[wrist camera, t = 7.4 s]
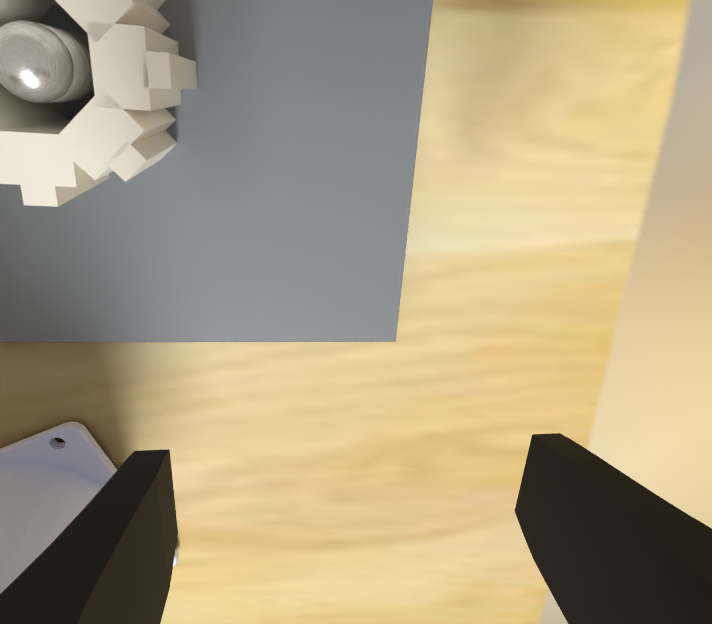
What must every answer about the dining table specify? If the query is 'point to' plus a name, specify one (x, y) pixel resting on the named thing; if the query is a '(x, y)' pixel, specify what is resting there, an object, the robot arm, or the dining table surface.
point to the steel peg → (45, 63)
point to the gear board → (241, 189)
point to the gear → (96, 103)
